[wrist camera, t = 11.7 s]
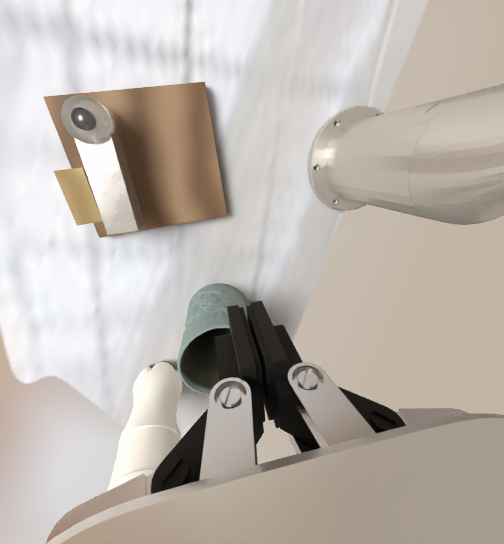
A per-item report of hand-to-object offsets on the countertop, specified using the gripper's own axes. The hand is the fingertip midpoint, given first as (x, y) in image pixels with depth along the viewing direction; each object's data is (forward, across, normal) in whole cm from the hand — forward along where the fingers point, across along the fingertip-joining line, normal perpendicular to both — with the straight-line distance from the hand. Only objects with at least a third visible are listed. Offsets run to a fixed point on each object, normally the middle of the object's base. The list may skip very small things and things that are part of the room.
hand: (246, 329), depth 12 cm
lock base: (+24, +6, -7) cm, 26 cm away
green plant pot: (+24, +2, +13) cm, 28 cm away
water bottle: (+24, +12, +24) cm, 36 cm away
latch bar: (+22, +10, -7) cm, 25 cm away
